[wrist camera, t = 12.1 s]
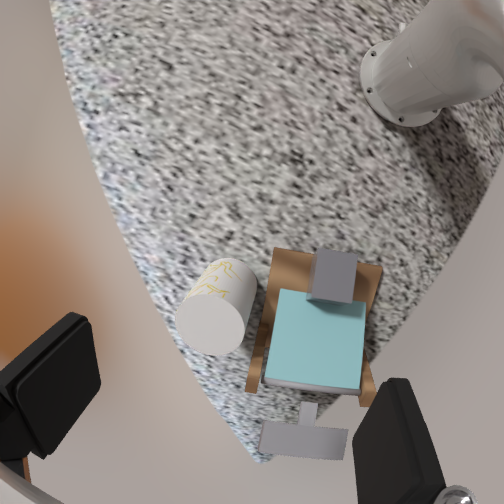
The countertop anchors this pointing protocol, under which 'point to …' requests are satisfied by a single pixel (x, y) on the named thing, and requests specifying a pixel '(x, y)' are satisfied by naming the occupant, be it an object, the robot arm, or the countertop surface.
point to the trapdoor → (312, 370)
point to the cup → (217, 308)
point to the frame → (297, 278)
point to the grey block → (332, 277)
